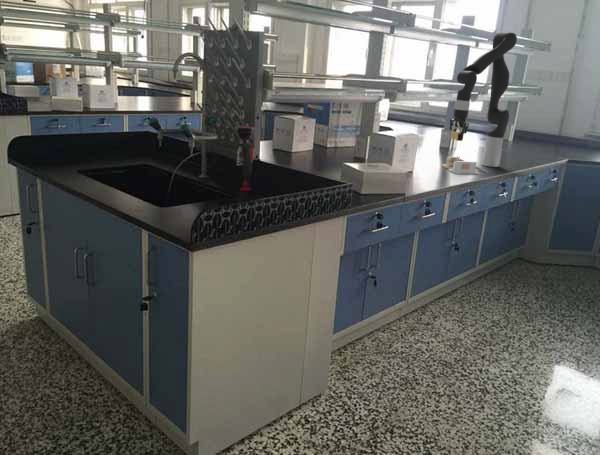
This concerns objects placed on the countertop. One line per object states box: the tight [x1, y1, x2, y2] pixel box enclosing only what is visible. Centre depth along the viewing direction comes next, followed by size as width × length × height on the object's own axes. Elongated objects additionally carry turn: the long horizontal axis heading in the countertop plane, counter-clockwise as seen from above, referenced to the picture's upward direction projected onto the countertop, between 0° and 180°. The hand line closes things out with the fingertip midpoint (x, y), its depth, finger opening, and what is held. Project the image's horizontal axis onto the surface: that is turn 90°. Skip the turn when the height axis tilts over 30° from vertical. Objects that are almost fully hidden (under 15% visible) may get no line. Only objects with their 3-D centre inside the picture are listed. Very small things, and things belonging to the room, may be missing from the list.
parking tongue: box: [441, 156, 460, 170], centre depth 296 cm, size 8×8×6 cm
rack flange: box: [448, 160, 480, 175], centre depth 285 cm, size 14×8×6 cm, turn 111°
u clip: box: [450, 130, 465, 142], centre depth 291 cm, size 4×6×4 cm
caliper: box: [456, 155, 490, 174], centre depth 296 cm, size 20×1×6 cm, turn 52°
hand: (456, 139), depth 292 cm, fingers closed on u clip, 5 cm apart
